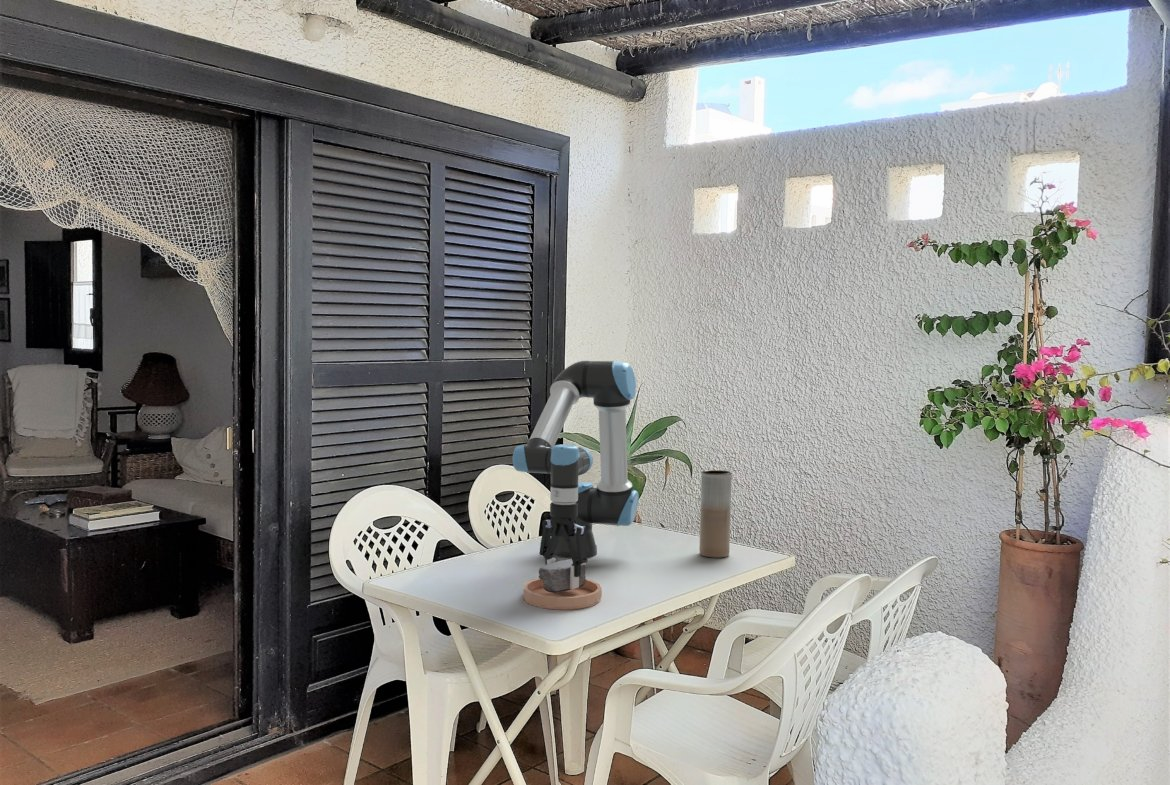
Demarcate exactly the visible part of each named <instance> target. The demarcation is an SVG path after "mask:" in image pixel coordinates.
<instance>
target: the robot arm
mask: <svg viewBox="0 0 1170 785" xmlns="http://www.w3.org/2000/svg"><path fill="white" fill-rule="evenodd" d="M636 382H637V381H636V376H635V372H634V369H633V367H632V366H631V365H630V364H629V363H627V362H625V361H617V360H581V361H577V362H574V363H573V364H570V365H568V366H567V367H566V368H564V369H563V370H562V371H561V372H560V373H559V374H558V375H557V376H556V377H555V379H554V380H553V382H552V384H551V385H550V388H549V393H550V395H549V397H548V399H547V402H546V403H545V406H544V408H543V410H542V411H541V414H540V416H539V418H538V420H537V422H536V425H535V427H534V429H533V431H532V433H531V435H530V437H529V440H528V441H527V443H526V445H524V444H521V445H517V446H516V447H515V448H514V449H513V453H512V458H511V459H512V465H513V468H514V470H515V471H517V472H521V473H528V474H530V473H531V474H532V473H533V474H548V475H550V494H549V495H550V501H551V502H550V504H549V516H550V517H551V518H550V519H545V520H542V521H541V526H542V533H541V540H540V547H539V556H543V557H544V559H545V560H544V563H545V564H544V565H547V564H550V563H554V562H557V561H556V558H555V556H556V557H560V558H564V559H565V558H566V559H572V561H573V564H571V572H570V589H575V588H578V587H579V576H580V575H581V564H583V563H588V558H591V557H594V556H596V555H597V554H598V547H597V546H598V545H597V544H596V540H595V539H596V538H595V535H594V533H593V525H594V524H596V525H607V526H616V527H620V526H622V527H627V526H628V527H629V526H631V525H632V524H633V523H634V520H635V519H636V515H637V511H638V507H639V498H640V496H639V492H638V490H635V489H633V483H632V482H631V480H629V479H628V478H629V477H628V450H627V449H628V447H627V446H628V444H627V418H626V417H627V411H626V410H627V408H628V407H629V406H630V404H631V400H632V399H634V398H635V397H636V391H637V390H636V389H637V383H636ZM581 398H590V399H593V406H594V407H595V408H596V409H597V410H598V424H599V425H598V428H599V429H598V431H599V456H600V458H599V459H600V480H599V482H598V483H597V484H596V487H594V486H595V485H594V484H593V482H589V481H586V482H584V481H583V482H579V476H581V475H584V474H586V473H587V472H588V471H589V470H590V469H591V468H592V467H593V462H594V458H593V455H592V453H591V451H590V450H588V449H587V448H585V447H581V446H579V447H578V446H577V445H573V444H556V443H557V441H558V439H559V437H560V434H561V432H562V429H563V427H564V425H565V423H566V421H567V418H568V416H569V414H570V412H571V410H572V407H573V405H575V404H577V403H578V402H579V400H580V399H581Z"/></svg>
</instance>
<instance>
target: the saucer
mask: <svg viewBox="0 0 1170 785" xmlns="http://www.w3.org/2000/svg"><path fill="white" fill-rule="evenodd" d="M522 590H523V592H522V593H523V601H524V602H525V603H526V604H528V605H530V606H532V607H536V608H541V609H546V610H556V611H557V610H558V611H572V610H581V609H587V608H591V607H593V606H596V605H597V604H599V603H600V602H601V600H602V595H603V594H602V591H603V590H602V585H601V584H600V583H598V582H596V581H594V580H591V579H587V578H586V582H585V584H584V585H583V586H581V587H579V588H576V589H572V590H567V591H562V592H556V593H552V592H548V591H546V590H545V589H544V587H543V580H541V579H539V577H538V578H535V579H532V580H528V581H527V582H526V583H524V584H523V589H522Z"/></svg>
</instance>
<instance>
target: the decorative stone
mask: <svg viewBox="0 0 1170 785" xmlns="http://www.w3.org/2000/svg"><path fill="white" fill-rule="evenodd" d="M586 563H587V562H586ZM586 563H583V564H581V575H580V576H579V587H581V586H583V585H584V584H585V582H586V579H587V578H586V572H587V564H586ZM571 564H573V561H572V558H566V559H562V560H559V561H558V560H557V561H556V562H554V563H550V564H547V565H545V564H544V565H542V566H541V567H539V569H538V578H539V579H541V580H543V587H544V589H545V590H546V591H548V592H552V593H556V592H562V591H567V590H572V589H570V572H571ZM579 587H578V588H579ZM575 589H576V588H575Z"/></svg>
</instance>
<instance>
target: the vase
mask: <svg viewBox="0 0 1170 785" xmlns="http://www.w3.org/2000/svg"><path fill="white" fill-rule="evenodd" d="M732 477H733V476H732V472H731V471H728V470H721V469H705V470H702V471H701V477H700V480H701V482H700V487H701V488H700V509H699V510H700V519H699V549H698V550H699V555H700V556H702V557H706V558H713V559H722V558H723V559H724V558H727V557H729V556H730V544H731V542H730V540H731V515H732V514H731V513H732V512H731V511H732V510H731V509H732Z"/></svg>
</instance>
